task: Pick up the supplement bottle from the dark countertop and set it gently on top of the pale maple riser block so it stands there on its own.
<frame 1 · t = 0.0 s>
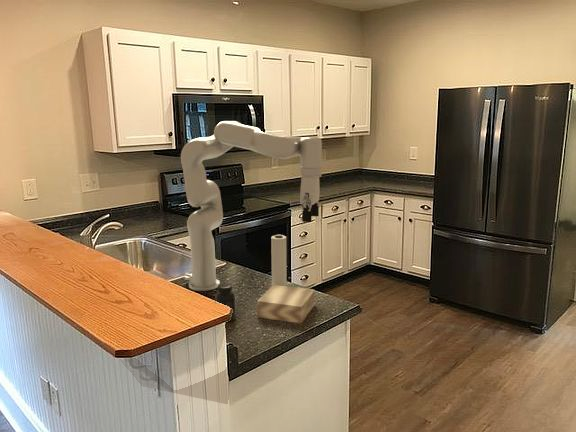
hand: (310, 218, 169), 31 cm above the counter, fingers open, 9 cm apart
supplement bottle: (226, 318, 160), on the counter
paper towel roll: (280, 287, 188), on the counter
maple block: (286, 310, 166), on the counter
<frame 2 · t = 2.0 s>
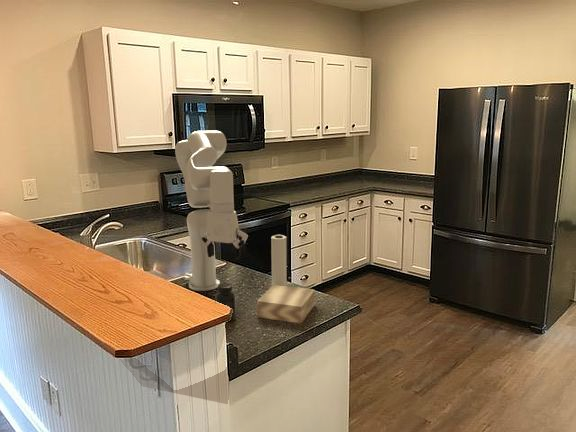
hand: (224, 257, 155), 22 cm above the counter, fingers open, 9 cm apart
nothing on the counter moved.
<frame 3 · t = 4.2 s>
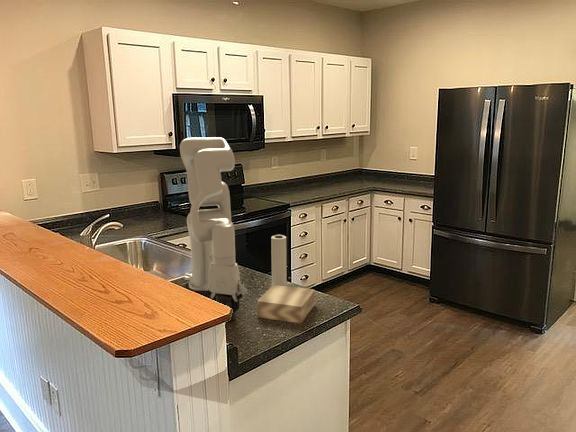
hand: (225, 309, 159), 3 cm above the counter, fingers closed on supplement bottle, 6 cm apart
supplement bottle: (226, 318, 160), on the counter, touching gripper
everything else where it was.
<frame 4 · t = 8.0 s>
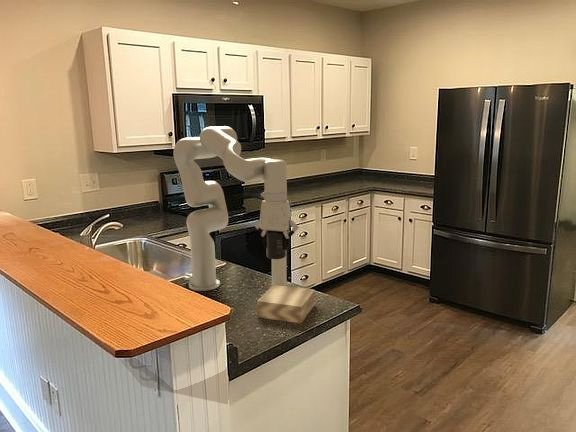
hand: (276, 247, 159), 24 cm above the counter, fingers closed on supplement bottle, 6 cm apart
supplement bottle: (276, 257, 160), point 20 cm above the counter, touching gripper
everything else where it was.
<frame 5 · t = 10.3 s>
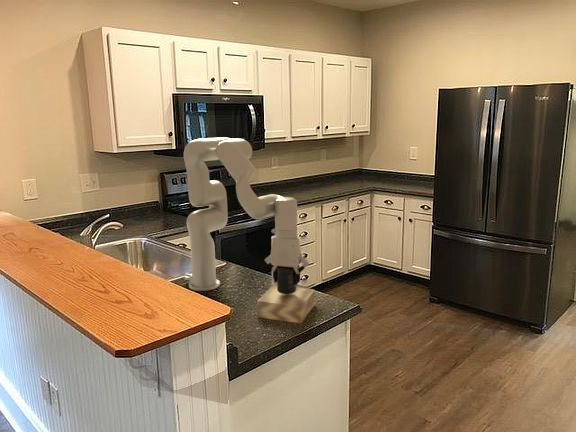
hand: (286, 282, 163), 11 cm above the counter, fingers closed on supplement bottle, 6 cm apart
supplement bottle: (286, 291, 164), point 7 cm above the counter, touching gripper
everything else where it was.
when the fingers open (9 cm above the counter, at t = 12.1 s): supplement bottle stays where it is, resting on maple block.
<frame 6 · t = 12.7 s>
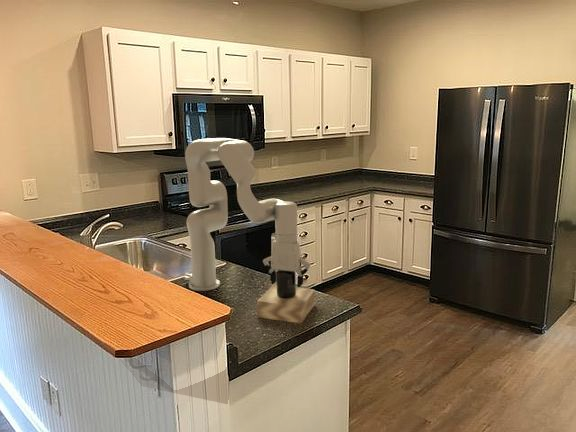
hand: (286, 284, 163), 10 cm above the counter, fingers open, 9 cm apart
supplement bottle: (286, 295, 164), point 6 cm above the counter, touching maple block
everything else where it was.
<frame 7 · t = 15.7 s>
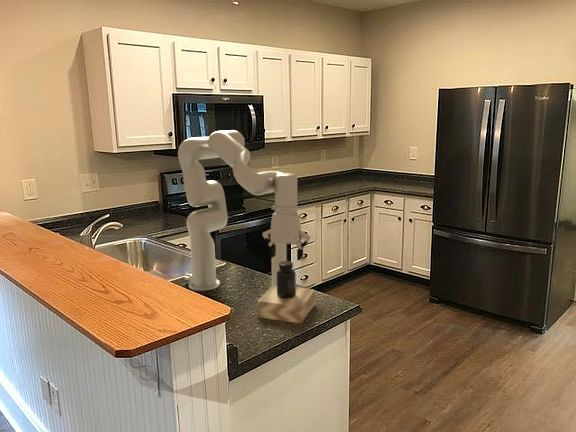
hand: (286, 257, 161), 20 cm above the counter, fingers open, 9 cm apart
nothing on the counter moved.
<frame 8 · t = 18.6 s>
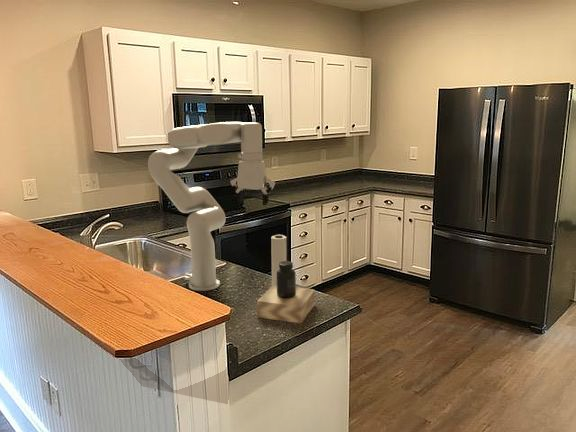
hand: (252, 203, 171), 36 cm above the counter, fingers open, 9 cm apart
nothing on the counter moved.
at the end: supplement bottle inside the target area on the maple block (0.2 cm from its centre), point 5.8 cm above the maple block's base; supplement bottle tilted 0°; the gripper is holding nothing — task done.
